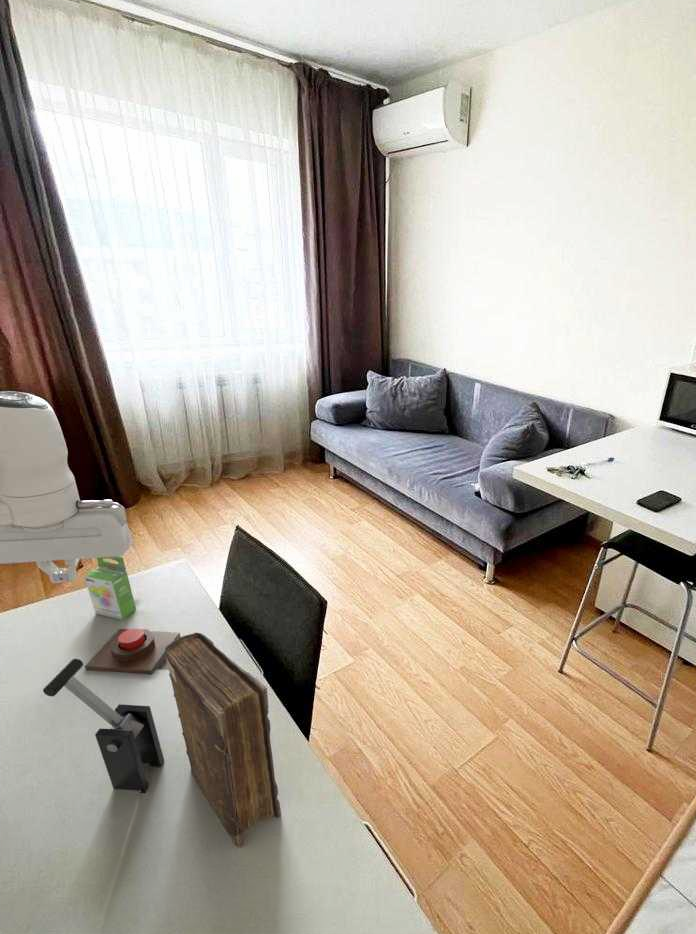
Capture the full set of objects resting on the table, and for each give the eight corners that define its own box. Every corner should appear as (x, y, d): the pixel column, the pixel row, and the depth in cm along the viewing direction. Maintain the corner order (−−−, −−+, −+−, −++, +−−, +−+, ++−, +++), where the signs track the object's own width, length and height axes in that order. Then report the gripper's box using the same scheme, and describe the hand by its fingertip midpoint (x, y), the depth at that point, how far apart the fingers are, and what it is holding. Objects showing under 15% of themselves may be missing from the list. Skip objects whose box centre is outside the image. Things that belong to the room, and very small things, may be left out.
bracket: (79, 809, 68) (54, 746, 63) (120, 751, 77) (101, 690, 71) (165, 815, 68) (147, 752, 63) (197, 756, 77) (184, 696, 71)
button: (115, 649, 91) (113, 642, 90) (128, 634, 94) (126, 627, 94) (137, 651, 91) (135, 643, 90) (149, 636, 94) (147, 628, 94)
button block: (87, 675, 89) (81, 658, 88) (121, 637, 99) (117, 621, 97) (153, 679, 89) (148, 662, 88) (181, 641, 99) (178, 625, 97)
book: (188, 769, 74) (157, 641, 64) (234, 742, 79) (213, 618, 69) (234, 858, 64) (207, 723, 54) (285, 821, 69) (269, 689, 58)
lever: (38, 691, 62) (50, 684, 61) (67, 662, 66) (79, 655, 66) (115, 754, 66) (128, 748, 66) (138, 722, 71) (150, 717, 70)
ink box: (94, 614, 104) (78, 561, 98) (110, 603, 107) (95, 551, 102) (121, 621, 103) (107, 567, 97) (137, 609, 106) (124, 557, 101)
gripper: (129, 490, 78) (144, 564, 84) (-29, 495, 73) (-1, 574, 78) (115, 508, 73) (132, 586, 78) (-56, 515, 67) (-24, 598, 73)
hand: (64, 580), depth 78 cm, fingers closed
